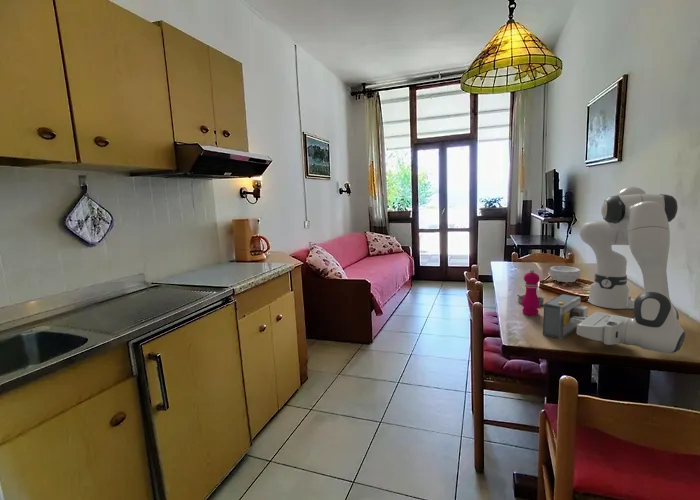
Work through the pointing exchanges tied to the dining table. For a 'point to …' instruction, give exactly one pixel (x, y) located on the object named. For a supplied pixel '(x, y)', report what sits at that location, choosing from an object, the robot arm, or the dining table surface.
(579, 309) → the white button
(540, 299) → the egg carton
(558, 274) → the paper bowls
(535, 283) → the pepper mill
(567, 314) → the amber button
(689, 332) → the dining table surface
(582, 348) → the dining table surface
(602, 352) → the dining table surface
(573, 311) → the black button
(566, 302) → the console
